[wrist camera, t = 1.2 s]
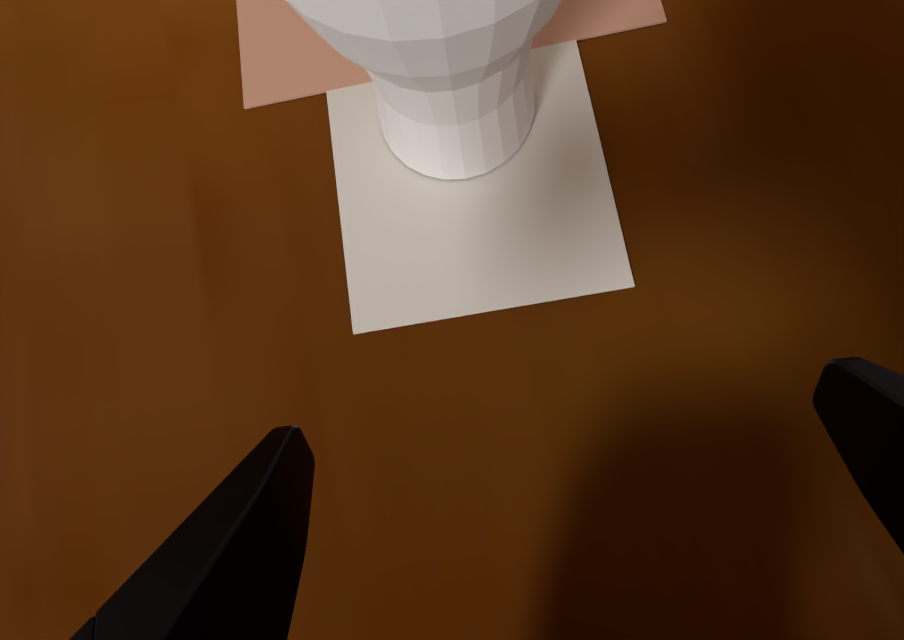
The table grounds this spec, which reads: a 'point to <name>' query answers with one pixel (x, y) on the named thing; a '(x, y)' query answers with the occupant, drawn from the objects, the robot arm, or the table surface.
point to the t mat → (459, 200)
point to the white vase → (442, 74)
